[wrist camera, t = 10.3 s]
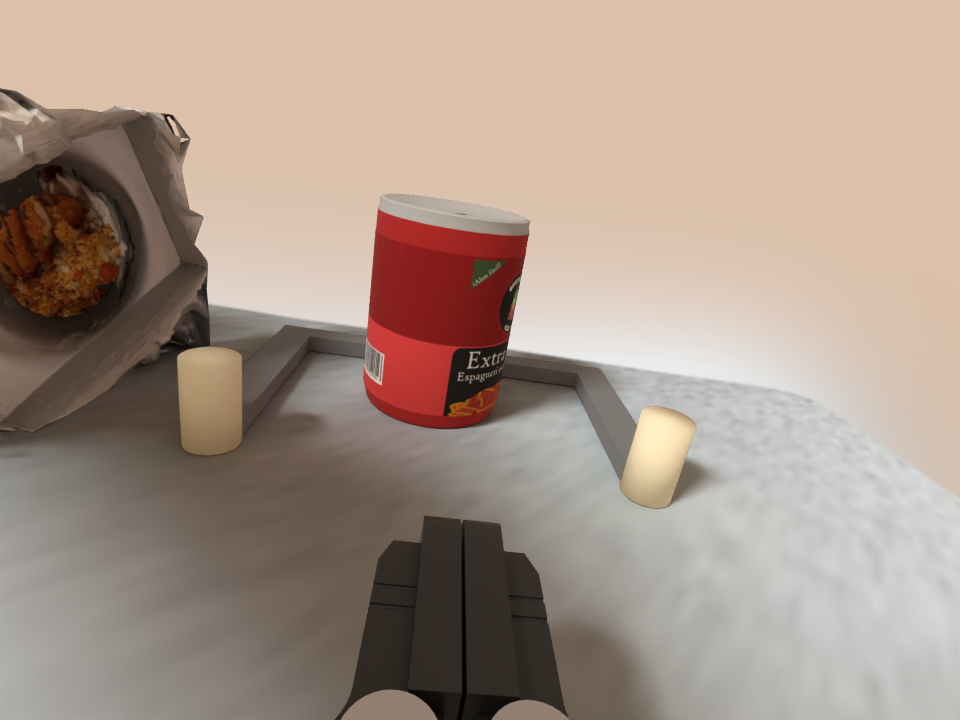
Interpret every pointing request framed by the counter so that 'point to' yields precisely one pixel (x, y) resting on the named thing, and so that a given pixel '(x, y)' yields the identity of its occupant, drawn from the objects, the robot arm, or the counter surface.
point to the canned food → (441, 308)
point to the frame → (247, 389)
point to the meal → (91, 254)
